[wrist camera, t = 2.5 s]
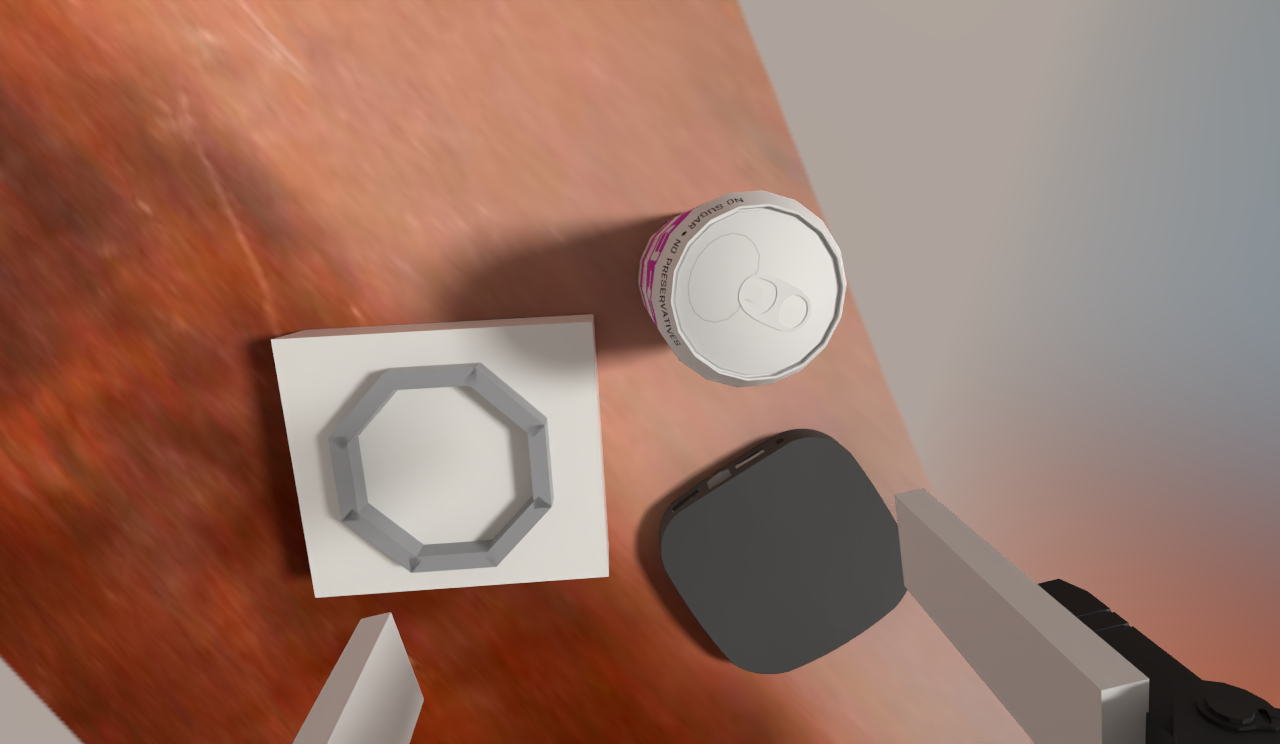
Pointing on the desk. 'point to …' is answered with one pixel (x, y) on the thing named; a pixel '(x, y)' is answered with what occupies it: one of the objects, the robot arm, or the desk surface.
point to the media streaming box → (784, 552)
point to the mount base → (446, 453)
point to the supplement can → (744, 287)
